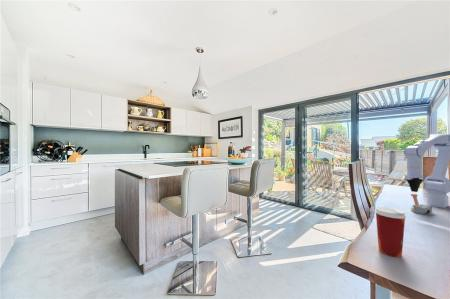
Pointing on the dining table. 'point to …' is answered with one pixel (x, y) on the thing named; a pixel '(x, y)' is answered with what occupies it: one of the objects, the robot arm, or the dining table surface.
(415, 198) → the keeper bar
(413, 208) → the zinc pin
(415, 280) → the dining table surface
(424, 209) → the hitch block
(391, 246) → the paper cup
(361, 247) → the dining table surface
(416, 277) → the dining table surface
